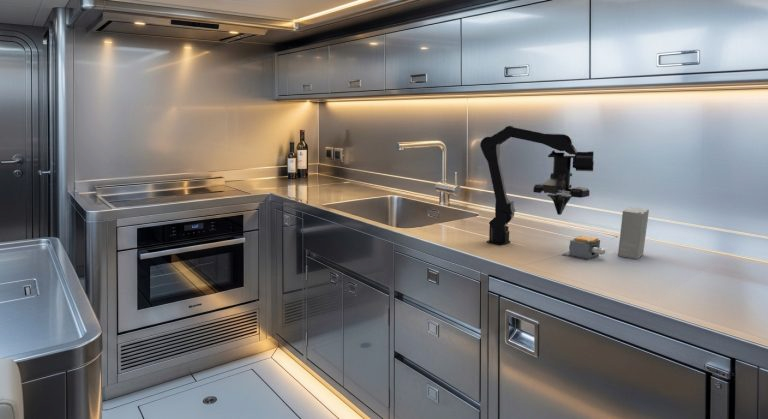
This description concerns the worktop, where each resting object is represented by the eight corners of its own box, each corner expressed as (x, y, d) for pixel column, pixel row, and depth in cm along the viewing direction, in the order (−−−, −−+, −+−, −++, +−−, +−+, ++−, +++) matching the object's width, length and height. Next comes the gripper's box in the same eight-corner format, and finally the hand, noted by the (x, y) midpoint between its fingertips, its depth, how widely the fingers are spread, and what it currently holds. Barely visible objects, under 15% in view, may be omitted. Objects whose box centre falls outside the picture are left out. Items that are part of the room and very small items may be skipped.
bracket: (562, 255, 180) (563, 236, 179) (573, 250, 185) (574, 233, 184) (588, 260, 174) (589, 241, 173) (599, 255, 179) (600, 237, 178)
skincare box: (623, 251, 185) (627, 206, 182) (646, 254, 180) (650, 208, 177) (616, 256, 178) (620, 209, 175) (639, 259, 174) (643, 212, 171)
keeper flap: (574, 240, 178) (574, 238, 178) (580, 238, 181) (580, 236, 181) (591, 242, 174) (591, 240, 174) (597, 240, 177) (597, 238, 177)
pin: (568, 252, 181) (569, 241, 180) (574, 250, 183) (574, 240, 182) (602, 258, 172) (602, 247, 172) (606, 256, 175) (607, 245, 174)
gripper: (525, 170, 187) (523, 213, 190) (574, 174, 173) (571, 221, 176) (542, 168, 194) (540, 210, 197) (591, 171, 181) (588, 217, 183)
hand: (559, 214), depth 188 cm, fingers closed
